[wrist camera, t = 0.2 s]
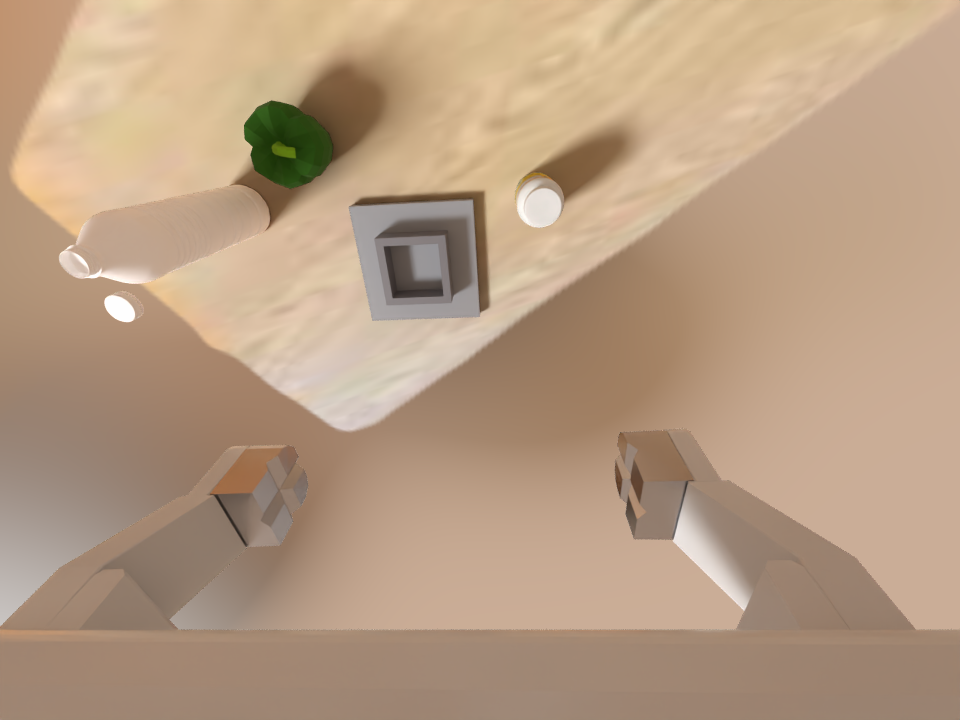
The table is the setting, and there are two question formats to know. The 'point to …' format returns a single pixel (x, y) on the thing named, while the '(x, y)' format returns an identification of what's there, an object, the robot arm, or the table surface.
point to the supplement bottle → (539, 200)
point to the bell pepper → (287, 144)
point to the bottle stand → (418, 258)
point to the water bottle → (162, 239)
